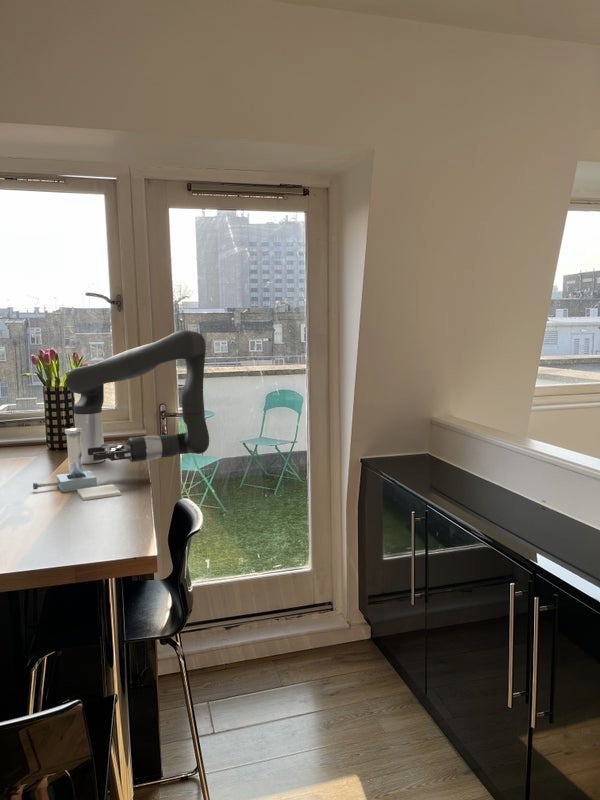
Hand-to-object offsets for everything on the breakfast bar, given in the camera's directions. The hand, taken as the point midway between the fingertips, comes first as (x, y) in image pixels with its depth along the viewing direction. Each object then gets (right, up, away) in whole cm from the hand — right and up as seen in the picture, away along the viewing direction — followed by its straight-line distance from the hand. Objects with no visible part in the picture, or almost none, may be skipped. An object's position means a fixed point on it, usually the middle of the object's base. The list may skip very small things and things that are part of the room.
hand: (90, 454), depth 185 cm
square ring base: (-7, -10, -3) cm, 12 cm away
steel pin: (-4, -9, -1) cm, 10 cm away
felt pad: (+6, -10, -10) cm, 15 cm away
